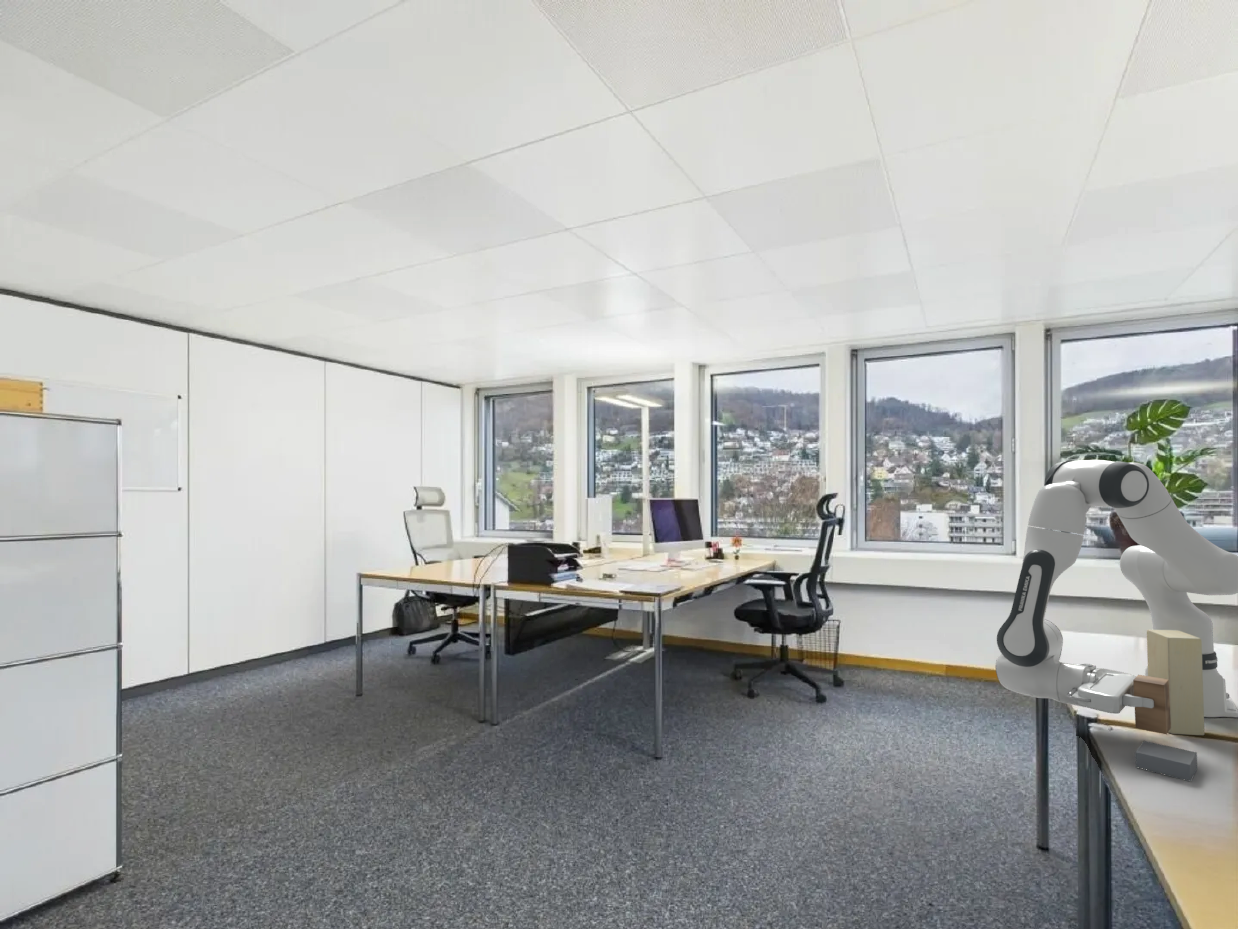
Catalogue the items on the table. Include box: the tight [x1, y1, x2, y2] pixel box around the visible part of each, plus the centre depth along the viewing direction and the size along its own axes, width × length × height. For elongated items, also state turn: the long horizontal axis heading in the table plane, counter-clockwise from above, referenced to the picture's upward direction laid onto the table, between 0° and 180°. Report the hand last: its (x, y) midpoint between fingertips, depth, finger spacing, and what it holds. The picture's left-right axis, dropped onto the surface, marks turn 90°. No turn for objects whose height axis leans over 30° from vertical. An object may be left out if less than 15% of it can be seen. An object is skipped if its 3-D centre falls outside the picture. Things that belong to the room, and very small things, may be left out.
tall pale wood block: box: [1146, 629, 1205, 736], centre depth 145 cm, size 8×7×21 cm
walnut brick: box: [1133, 674, 1171, 735], centre depth 135 cm, size 5×5×10 cm
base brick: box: [1134, 740, 1198, 782], centre depth 125 cm, size 8×8×3 cm
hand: (1157, 699), depth 135 cm, fingers closed on walnut brick, 5 cm apart
